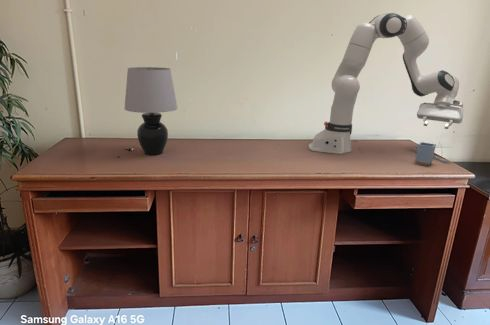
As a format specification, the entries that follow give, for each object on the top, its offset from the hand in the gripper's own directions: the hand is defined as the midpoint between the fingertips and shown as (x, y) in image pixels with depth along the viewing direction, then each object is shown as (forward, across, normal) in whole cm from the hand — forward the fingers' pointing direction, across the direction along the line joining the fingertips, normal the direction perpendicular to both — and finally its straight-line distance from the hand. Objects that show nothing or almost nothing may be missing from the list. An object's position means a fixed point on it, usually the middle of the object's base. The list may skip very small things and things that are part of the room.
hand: (435, 126), depth 174 cm
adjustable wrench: (+9, -1, +14) cm, 17 cm away
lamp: (+73, -106, -51) cm, 139 cm away
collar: (+20, 0, +1) cm, 20 cm away
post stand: (+21, 0, +2) cm, 21 cm away
